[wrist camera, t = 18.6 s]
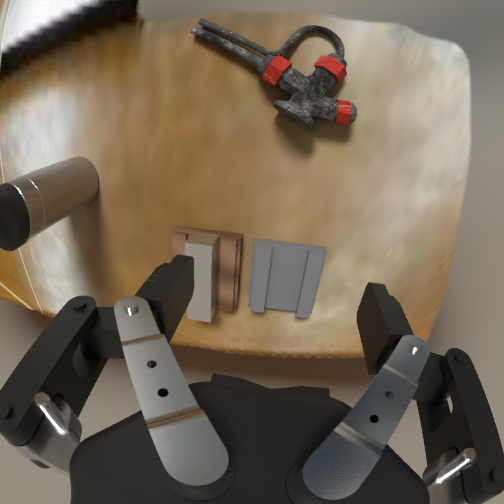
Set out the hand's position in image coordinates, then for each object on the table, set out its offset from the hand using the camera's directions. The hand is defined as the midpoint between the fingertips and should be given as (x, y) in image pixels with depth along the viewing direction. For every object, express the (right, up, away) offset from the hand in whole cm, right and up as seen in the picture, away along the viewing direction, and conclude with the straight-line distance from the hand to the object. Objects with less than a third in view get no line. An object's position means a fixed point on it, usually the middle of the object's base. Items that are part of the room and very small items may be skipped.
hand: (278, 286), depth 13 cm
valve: (+3, +29, +20) cm, 35 cm away
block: (-9, -2, +34) cm, 35 cm away
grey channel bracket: (+4, -2, +35) cm, 35 cm away
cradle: (-9, -1, +35) cm, 36 cm away
